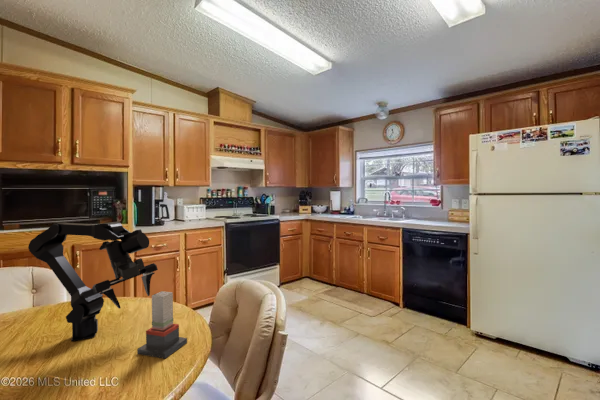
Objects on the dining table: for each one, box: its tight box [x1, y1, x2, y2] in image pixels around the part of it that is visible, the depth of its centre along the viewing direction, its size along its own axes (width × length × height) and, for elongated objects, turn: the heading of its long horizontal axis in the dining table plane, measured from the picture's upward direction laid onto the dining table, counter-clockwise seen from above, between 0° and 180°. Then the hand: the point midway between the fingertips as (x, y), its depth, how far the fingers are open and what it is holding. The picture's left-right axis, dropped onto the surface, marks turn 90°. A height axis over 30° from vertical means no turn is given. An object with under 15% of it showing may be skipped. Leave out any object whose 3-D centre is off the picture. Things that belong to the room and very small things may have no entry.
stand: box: [136, 323, 188, 359], centre depth 94 cm, size 10×10×6 cm
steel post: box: [151, 290, 174, 332], centre depth 94 cm, size 4×4×12 cm
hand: (134, 301), depth 101 cm, fingers open, 9 cm apart
